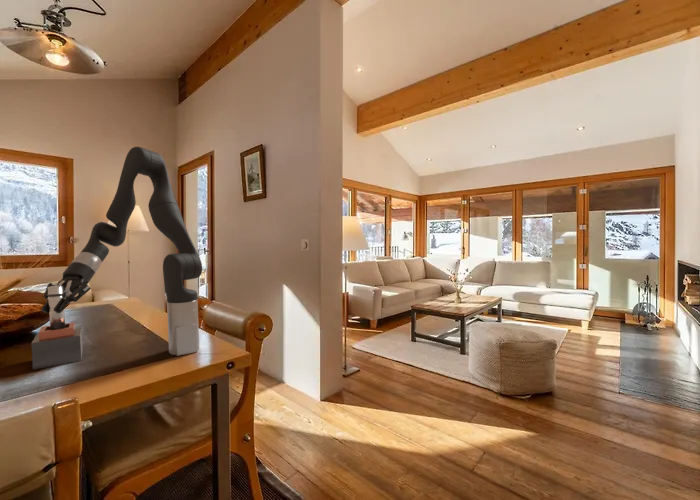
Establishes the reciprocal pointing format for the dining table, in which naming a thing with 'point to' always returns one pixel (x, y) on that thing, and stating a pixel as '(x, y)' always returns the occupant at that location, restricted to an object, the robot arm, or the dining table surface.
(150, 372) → the dining table surface
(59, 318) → the steel tube
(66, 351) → the block
